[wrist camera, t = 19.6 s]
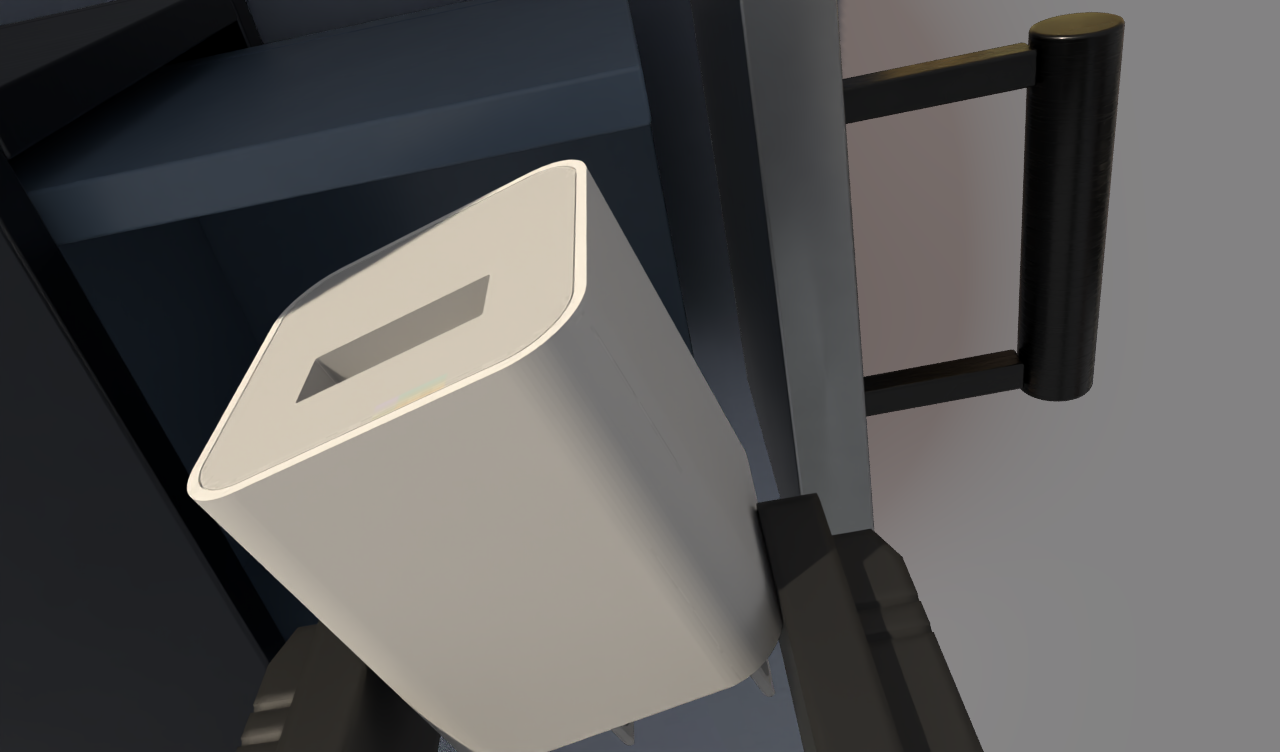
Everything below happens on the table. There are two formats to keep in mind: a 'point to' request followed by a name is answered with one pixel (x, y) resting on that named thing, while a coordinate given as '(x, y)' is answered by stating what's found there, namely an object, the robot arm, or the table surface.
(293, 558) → the usb wall charger
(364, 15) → the table surface
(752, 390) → the drawer
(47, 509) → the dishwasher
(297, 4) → the table surface
